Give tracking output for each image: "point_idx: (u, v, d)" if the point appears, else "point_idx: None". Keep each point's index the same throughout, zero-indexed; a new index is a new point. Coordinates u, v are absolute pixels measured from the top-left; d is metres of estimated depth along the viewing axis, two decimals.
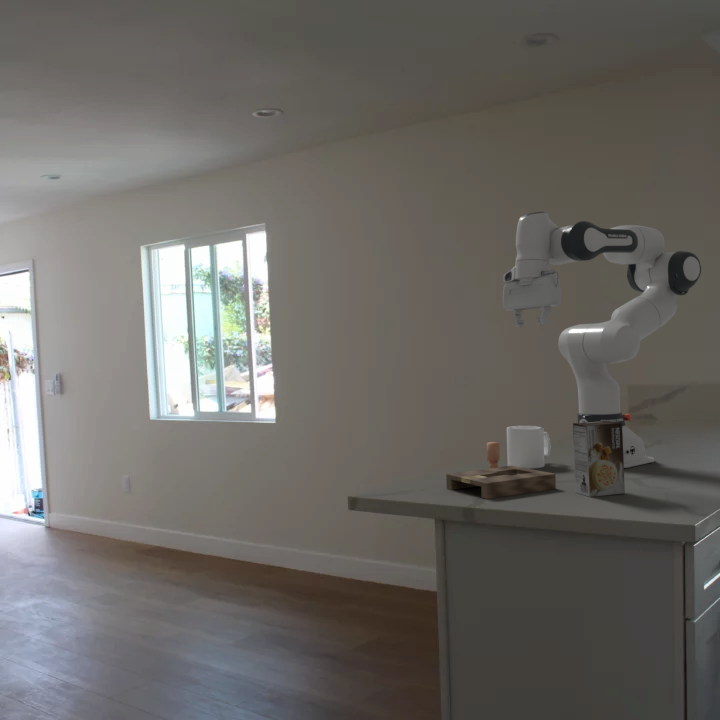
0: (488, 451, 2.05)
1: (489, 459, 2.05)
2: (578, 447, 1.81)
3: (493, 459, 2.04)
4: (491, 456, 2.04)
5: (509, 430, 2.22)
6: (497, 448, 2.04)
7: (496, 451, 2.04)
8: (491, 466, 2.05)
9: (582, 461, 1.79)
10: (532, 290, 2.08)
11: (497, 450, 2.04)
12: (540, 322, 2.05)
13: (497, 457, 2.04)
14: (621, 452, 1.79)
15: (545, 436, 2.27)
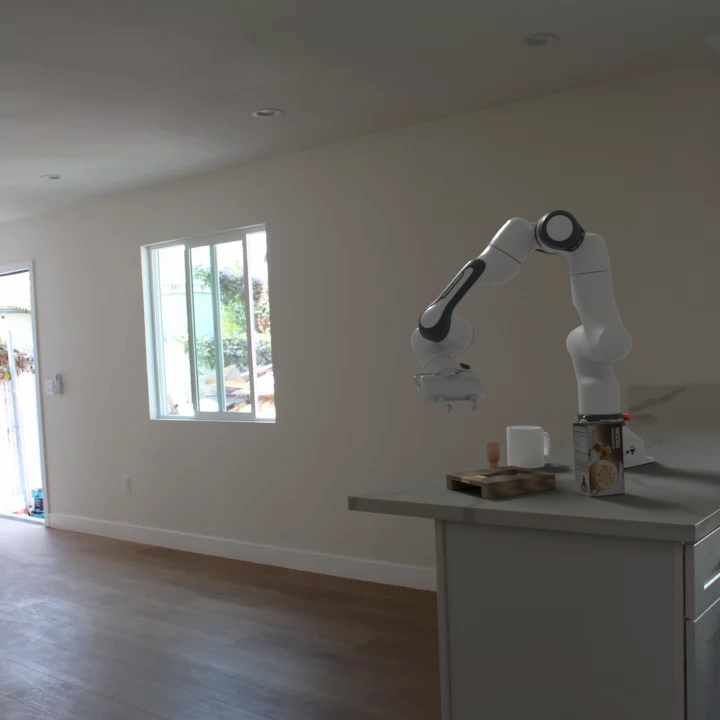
0: (488, 451, 2.05)
1: (489, 459, 2.05)
2: (578, 447, 1.81)
3: (493, 459, 2.04)
4: (491, 456, 2.04)
5: (509, 430, 2.22)
6: (497, 448, 2.04)
7: (496, 451, 2.04)
8: (491, 466, 2.05)
9: (582, 461, 1.79)
10: None
11: (497, 450, 2.04)
12: None
13: (497, 457, 2.04)
14: (621, 452, 1.79)
15: (545, 436, 2.27)
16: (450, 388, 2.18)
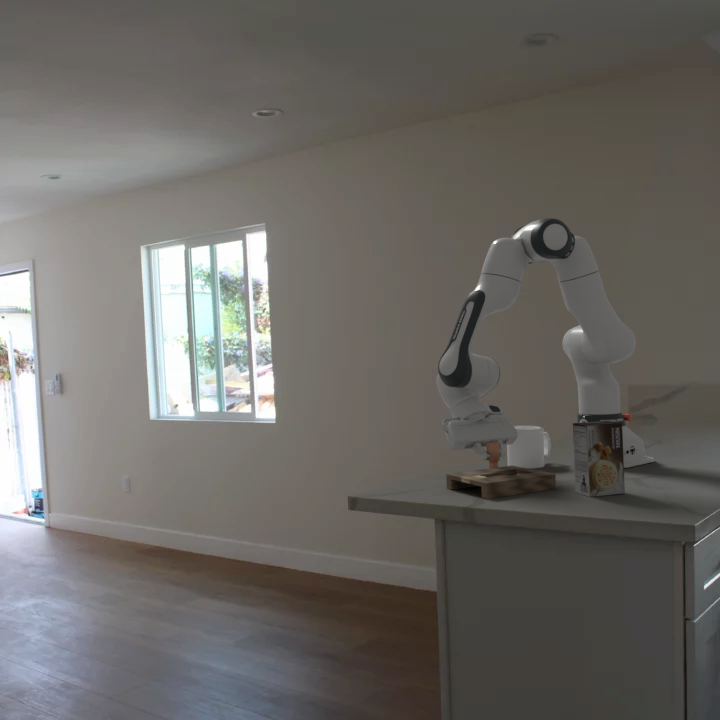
0: None
1: (489, 459, 2.05)
2: (578, 447, 1.81)
3: (493, 459, 2.04)
4: (491, 456, 2.04)
5: None
6: (497, 448, 2.04)
7: (496, 451, 2.04)
8: (491, 466, 2.05)
9: (582, 461, 1.79)
10: None
11: (497, 450, 2.04)
12: None
13: (497, 457, 2.04)
14: (621, 452, 1.79)
15: (545, 436, 2.27)
16: (480, 434, 2.07)
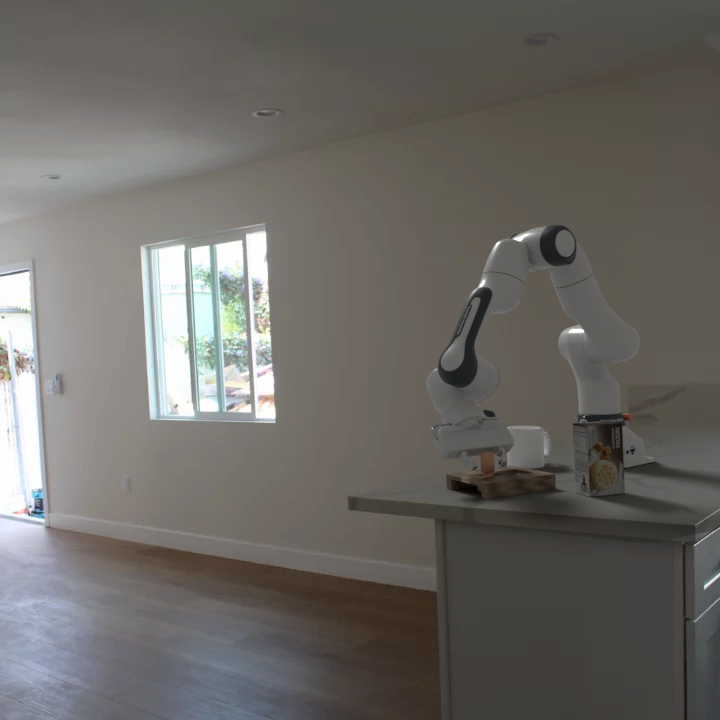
0: (482, 461, 1.88)
1: (483, 470, 1.88)
2: (578, 447, 1.81)
3: (487, 470, 1.87)
4: (485, 467, 1.88)
5: (509, 430, 2.22)
6: (492, 458, 1.88)
7: (491, 461, 1.87)
8: None
9: (582, 461, 1.79)
10: None
11: (492, 460, 1.88)
12: None
13: (492, 468, 1.88)
14: (621, 452, 1.79)
15: (545, 436, 2.27)
16: (473, 441, 1.90)
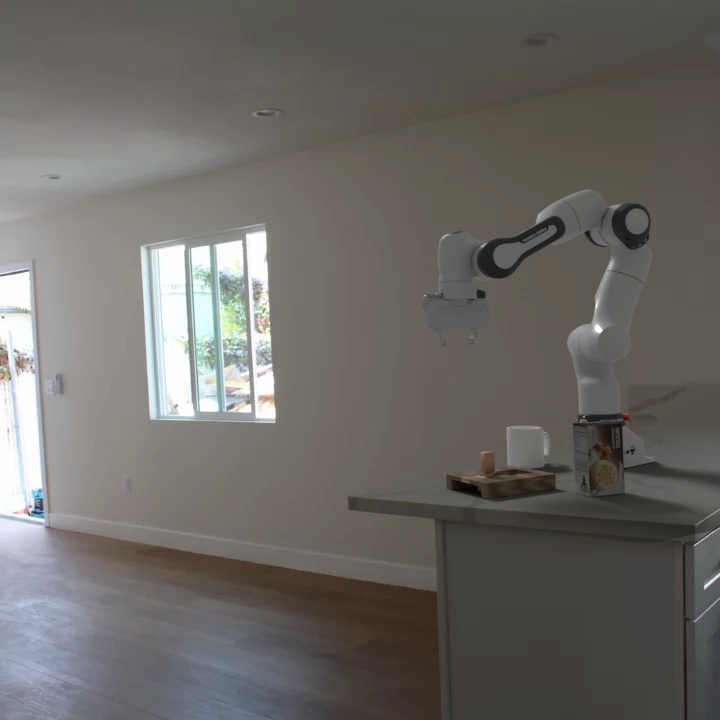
0: (482, 461, 1.88)
1: (483, 470, 1.88)
2: (578, 447, 1.81)
3: (488, 470, 1.87)
4: (485, 467, 1.88)
5: (509, 430, 2.22)
6: (492, 458, 1.88)
7: (491, 461, 1.87)
8: None
9: (582, 461, 1.79)
10: None
11: (492, 460, 1.88)
12: None
13: (492, 468, 1.88)
14: (621, 452, 1.79)
15: (545, 436, 2.27)
16: (454, 320, 2.09)
